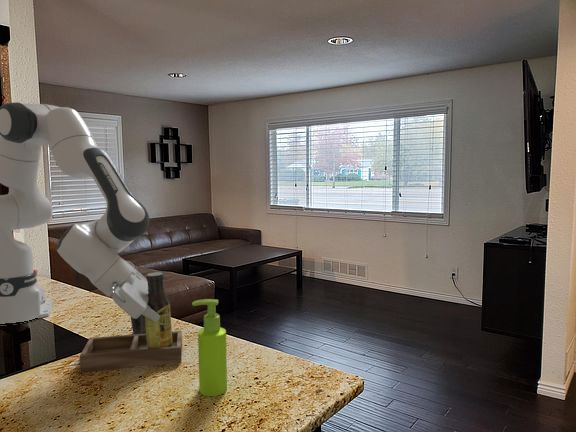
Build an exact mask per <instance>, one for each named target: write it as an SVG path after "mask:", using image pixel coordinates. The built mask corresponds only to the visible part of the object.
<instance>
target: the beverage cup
mask: <svg viewBox="0 0 576 432" xmlns="http://www.w3.org/2000/svg"><path fill="white" fill-rule="evenodd" d="M134 269H136V270H137V271H138V266H135V267H134ZM138 272H139V271H138ZM130 321H131V329H132V335H134V334H146V325H145V316H144V315H142V314H141V315H140V316H139V317H138V318H137V319H134V318H132V317H130Z"/></svg>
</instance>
